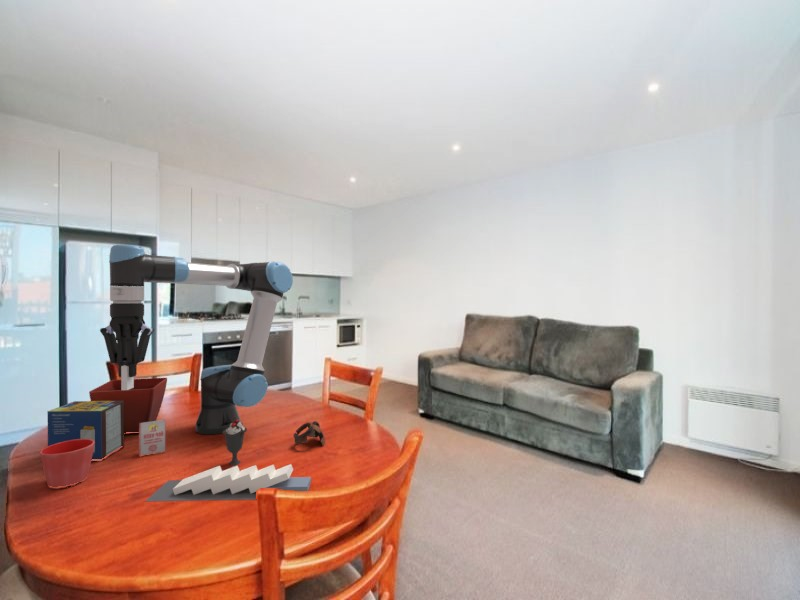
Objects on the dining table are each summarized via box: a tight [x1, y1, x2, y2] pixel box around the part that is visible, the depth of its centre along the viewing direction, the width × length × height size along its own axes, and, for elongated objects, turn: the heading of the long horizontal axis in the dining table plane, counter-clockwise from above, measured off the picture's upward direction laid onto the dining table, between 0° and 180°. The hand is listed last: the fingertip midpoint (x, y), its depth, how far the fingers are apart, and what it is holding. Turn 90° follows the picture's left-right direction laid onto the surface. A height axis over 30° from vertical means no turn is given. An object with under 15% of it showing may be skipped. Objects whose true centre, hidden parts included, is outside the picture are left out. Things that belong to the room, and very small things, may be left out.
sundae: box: [221, 416, 248, 466], centre depth 110 cm, size 7×7×15 cm
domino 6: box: [267, 476, 312, 492], centre depth 96 cm, size 5×2×10 cm
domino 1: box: [173, 465, 223, 495], centre depth 95 cm, size 5×2×10 cm
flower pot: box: [39, 439, 95, 487], centre depth 99 cm, size 11×11×10 cm
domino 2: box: [191, 464, 241, 495], centre depth 95 cm, size 5×2×10 cm
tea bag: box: [138, 419, 166, 457], centre depth 117 cm, size 4×7×10 cm, turn 121°
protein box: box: [47, 400, 125, 459], centre depth 115 cm, size 10×15×16 cm
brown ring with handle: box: [293, 421, 326, 447], centre depth 126 cm, size 12×10×8 cm
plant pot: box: [88, 377, 168, 433], centre depth 137 cm, size 19×19×17 cm
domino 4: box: [230, 464, 277, 494], centre depth 96 cm, size 5×2×10 cm
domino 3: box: [211, 464, 259, 494], centre depth 95 cm, size 5×2×10 cm
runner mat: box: [144, 479, 257, 502], centre depth 95 cm, size 10×32×1 cm, turn 93°
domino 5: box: [249, 463, 294, 493], centre depth 96 cm, size 5×2×10 cm
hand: (127, 388), depth 101 cm, fingers closed
